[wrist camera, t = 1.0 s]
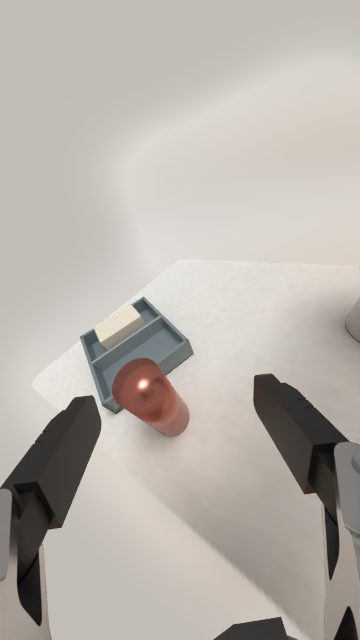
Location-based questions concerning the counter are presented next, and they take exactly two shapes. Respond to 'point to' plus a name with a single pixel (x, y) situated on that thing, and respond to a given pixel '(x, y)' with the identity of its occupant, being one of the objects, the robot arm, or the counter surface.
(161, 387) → the copper cylinder
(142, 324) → the cream block
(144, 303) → the tray
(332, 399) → the counter surface
